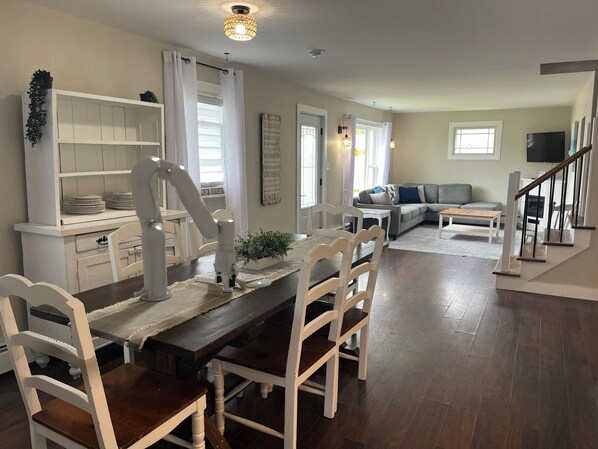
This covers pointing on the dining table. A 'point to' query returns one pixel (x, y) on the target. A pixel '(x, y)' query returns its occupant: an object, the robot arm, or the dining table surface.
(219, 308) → the dining table surface
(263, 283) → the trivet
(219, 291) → the maple blocks
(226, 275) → the cup
